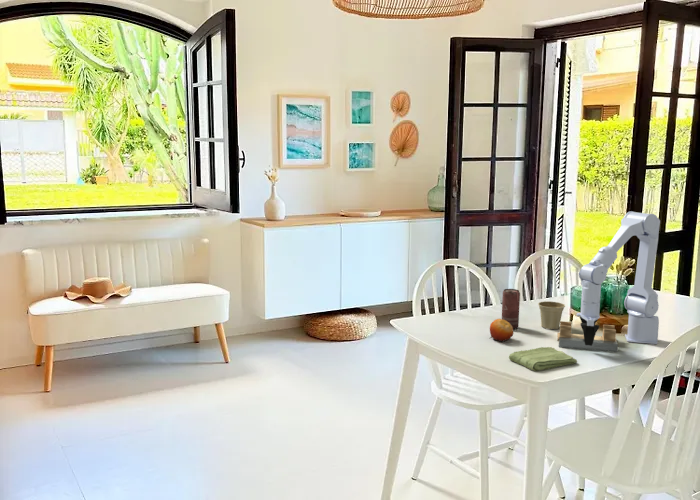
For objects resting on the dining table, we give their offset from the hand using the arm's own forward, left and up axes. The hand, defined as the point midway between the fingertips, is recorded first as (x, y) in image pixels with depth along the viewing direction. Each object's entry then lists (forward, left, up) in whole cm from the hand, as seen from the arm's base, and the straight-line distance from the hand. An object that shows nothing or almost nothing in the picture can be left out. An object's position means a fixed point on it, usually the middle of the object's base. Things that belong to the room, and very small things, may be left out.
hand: (588, 341), depth 214 cm
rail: (0, 0, -3) cm, 3 cm away
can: (+26, -17, -2) cm, 31 cm away
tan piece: (0, -9, -2) cm, 9 cm away
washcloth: (+14, +18, -3) cm, 23 cm away
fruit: (+28, -1, -2) cm, 28 cm away
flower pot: (+12, -22, -2) cm, 25 cm away
